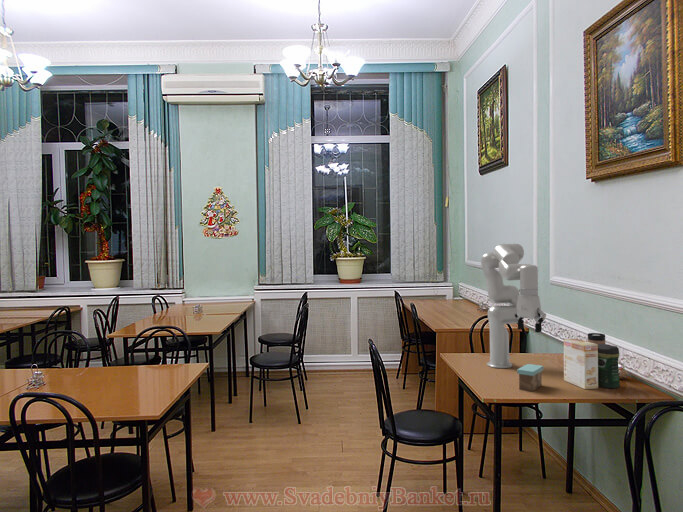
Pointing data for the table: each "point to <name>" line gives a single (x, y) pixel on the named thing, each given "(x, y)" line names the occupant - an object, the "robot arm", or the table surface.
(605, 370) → the coffee jar
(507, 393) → the table surface
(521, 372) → the lid
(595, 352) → the coffeecake box
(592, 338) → the travel mug
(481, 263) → the robot arm
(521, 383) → the tea box
